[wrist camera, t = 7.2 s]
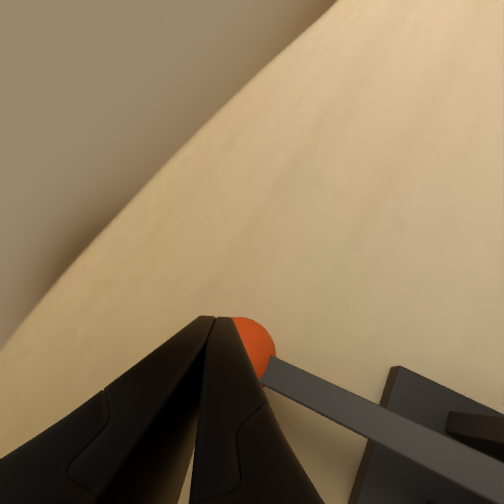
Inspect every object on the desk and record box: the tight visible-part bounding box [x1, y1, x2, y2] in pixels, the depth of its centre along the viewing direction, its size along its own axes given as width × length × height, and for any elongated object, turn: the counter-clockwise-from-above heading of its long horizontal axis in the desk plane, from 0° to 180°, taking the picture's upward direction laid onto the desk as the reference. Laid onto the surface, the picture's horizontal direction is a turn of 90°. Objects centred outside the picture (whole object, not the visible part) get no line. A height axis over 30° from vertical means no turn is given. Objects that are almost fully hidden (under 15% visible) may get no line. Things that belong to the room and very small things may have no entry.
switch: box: [232, 317, 504, 504], centre depth 11 cm, size 16×3×3 cm, turn 64°
